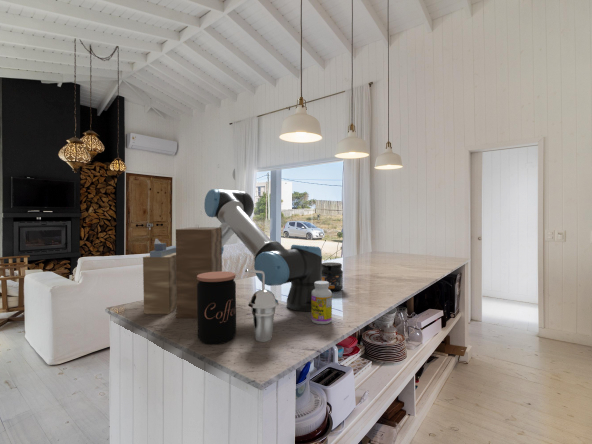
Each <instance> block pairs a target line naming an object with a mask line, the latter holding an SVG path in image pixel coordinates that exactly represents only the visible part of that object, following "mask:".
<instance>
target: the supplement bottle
mask: <svg viewBox="0 0 592 444" xmlns="http://www.w3.org/2000/svg"><path fill="white" fill-rule="evenodd" d="M314 286H315V289H314V290H313V291H312V293H311V311H310V312H311V322H312V323H314V324H318V325H326V324H330V323H331V322H332V319H333V316H332V313H333V310H332V309H333V307H332V305H333V302H332V300H333V292H331V291H330V290H329V289H328V287H329V282H327V281H316V282H315V283H314Z"/></svg>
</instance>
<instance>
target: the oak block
mask: <svg viewBox="0 0 592 444" xmlns="http://www.w3.org/2000/svg"><path fill="white" fill-rule="evenodd" d="M142 269H143V271H142V272H143V273H142V275H143V277H142V278H143V281H142V283H143V284H142V285H143V288H142V289H143V314H145V315H146V314H147V315H148V314H150V315H153V314H154V315H155V314H157V315H159V314H161V315H162V314H163V315H164V314H165V315H166V314H167V315H170V314H171V313H172V312H174V311H175V310H177V287H176V253H173V254H170V255H167V256H163V257H150V254H149V255H146V256H143V257H142Z"/></svg>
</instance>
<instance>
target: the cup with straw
mask: <svg viewBox="0 0 592 444" xmlns="http://www.w3.org/2000/svg"><path fill="white" fill-rule="evenodd" d="M244 271H245V273H253V274H256V273H261V274H262V282H261V289H258V290H257V291H255V292H254V293H253V294H252V296H251V299H250V300H248V304H247V305H248V307H249V308H250V311H251V315H252V319H253V320H252V321H253V330H254V335H255V340H256V341H257V342H261V343H262V342H263V343H264V342H265V343H266V342H269V341H271V340H272V335H273V328H274V320H275V319H274V318H275V313H276V310H277V306H279V300H278V299H276V297H275V294H274V293H273V292H272V291H271V290H269V289H266V288H265V286H266V285H265V274H264V272H263V271H258V270H255V269H245V270H244Z"/></svg>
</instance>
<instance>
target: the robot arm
mask: <svg viewBox="0 0 592 444" xmlns="http://www.w3.org/2000/svg"><path fill="white" fill-rule="evenodd" d="M203 204H204V206H203V207H204V212H205V214H206V216H207V217H209V218H216V219H217V220H218V221H219V223H220V225H219V227H221V231H222V255H223V253H224V249H225V248H224V246H225V245H226V244H227V242H228V241H229V240H230V239H231V237H232V236H233V235H234V234H235V235H236V237H237V238H238V239H239V240H240V241H241V242H242V243H243V245H244V246H245V247H246V248H247V249H248V251H249V252H250V253H251V255H253V257H254V258H253V259H254V260H253V261H254V262H253V264H254V265H253V268H254V269H253V270H258V271H263V272H264V274H265V286H269V287H271V286H281V285H284V284H290V283H291V285H290V288H289V291H288V295H287V298H286V307H287V308H288V309H290V310H294V311H300V312H311V293H312V291H313V290H314V289H315V286H314V283H315V282H316V281H322V263H323V255H322V249H321V248H320V247H319V246H315V245H314V246H313V245H310V246H309V245H304V244H303V245H301V244H292V245H291V246H290V249H286V248H285V247H284V246H283V245H282V244H281V242H279V241H277V240H272V239H271V238H270V237H269V236H268V235H267V234H266V233H265V232H264V231H263V230H262V228H260V226H259V225H258V224H257V223H255V221H254V220H253V219H252V218H251V216H252V215H253V212H254V209H255V204H254V200H253V198H252V196H251V195H250V194H249V193H248V192H247V191H244V190H241V189H240V190H239V189H237V190H235V189H222V188H221V189H220V188H212V189H210V190H208V192H207V193H206V195H205V198H204V203H203ZM157 243H162V242H161V241H160V240H159V239H158V238H155V240H154V242H153V245H154V244H157ZM255 276H256V278H258V280H259V281H260V282H261V283H262V274H261V273H255Z"/></svg>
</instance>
